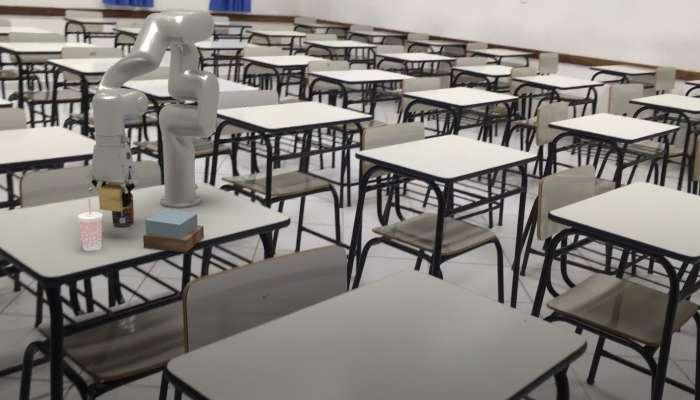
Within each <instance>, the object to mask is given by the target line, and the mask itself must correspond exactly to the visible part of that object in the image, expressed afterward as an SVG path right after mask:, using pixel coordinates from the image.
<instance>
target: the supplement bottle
mask: <svg viewBox="0 0 700 400" xmlns="http://www.w3.org/2000/svg"><path fill="white" fill-rule="evenodd" d="M111 215H112V216H111V217H112V224H113V225H114V226H117V227H127V226H131V225H133V224H134V223H135V211H134V195H133V193H132V192H131V205H130V206H128V207H127V208H125V209H124V210H122V211H121V212H119V211H111Z"/></svg>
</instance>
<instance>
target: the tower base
mask: <svg viewBox="0 0 700 400" xmlns="http://www.w3.org/2000/svg"><path fill="white" fill-rule="evenodd" d="M204 229H205V227H204V225H199V224H198V227H197V228H196V229H194V230H193V231H191V232H190V233H188V234H187V235H185V236H184V237H182V238H181V239H175V238H169V237H162V236H155V235H148V234H146V233H145V234H144V235H143V237H142V239H143V240H142V241H143V248H144V249H152V250H160V251H168V252H169V251H170V252H178V253H185V254H186V253H188V252H189V251H190V250H192V248H193V247H195V245H197V244H198V243H199V242H200V241H202V239H204V238H205V236H204V235H205V232H204V231H205V230H204Z"/></svg>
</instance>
